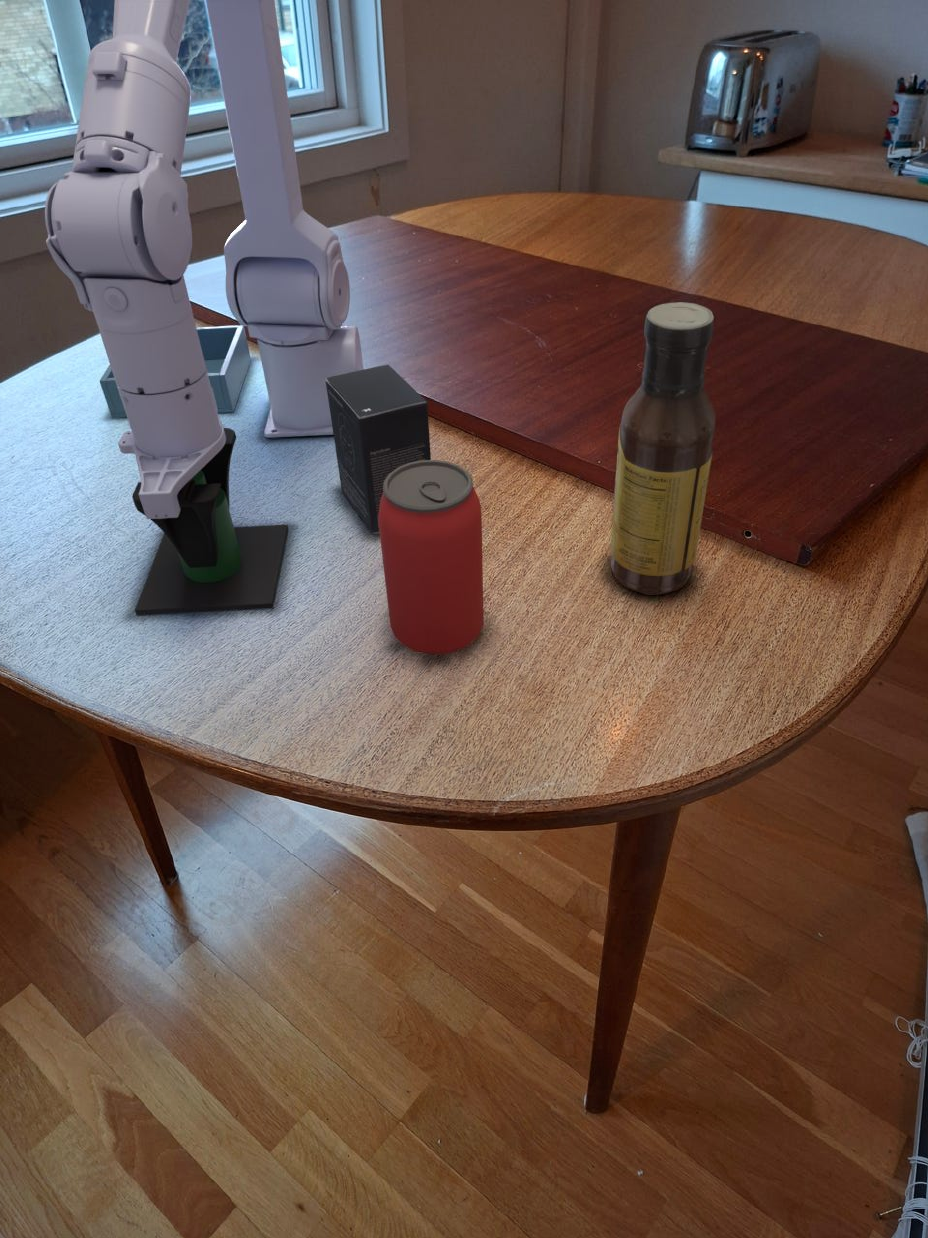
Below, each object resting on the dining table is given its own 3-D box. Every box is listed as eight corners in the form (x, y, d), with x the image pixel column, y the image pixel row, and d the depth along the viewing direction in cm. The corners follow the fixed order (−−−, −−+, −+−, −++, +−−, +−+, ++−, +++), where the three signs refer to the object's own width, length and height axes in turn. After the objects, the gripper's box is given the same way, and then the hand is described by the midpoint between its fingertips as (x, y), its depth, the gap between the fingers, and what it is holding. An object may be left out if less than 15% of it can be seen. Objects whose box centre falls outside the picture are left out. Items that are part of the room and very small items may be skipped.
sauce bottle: (653, 538, 67) (690, 284, 54) (709, 579, 63) (763, 315, 50) (588, 565, 65) (610, 306, 51) (642, 610, 61) (680, 342, 47)
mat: (288, 529, 69) (287, 524, 69) (273, 608, 62) (272, 603, 62) (166, 535, 69) (164, 530, 69) (136, 615, 62) (134, 610, 61)
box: (436, 517, 70) (428, 400, 63) (372, 537, 68) (357, 418, 61) (399, 473, 75) (389, 360, 68) (339, 490, 74) (322, 376, 67)
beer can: (415, 672, 57) (401, 524, 49) (376, 615, 61) (357, 472, 53) (501, 639, 59) (500, 493, 51) (457, 587, 63) (451, 444, 55)
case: (251, 359, 94) (243, 324, 91) (233, 412, 85) (224, 374, 82) (141, 365, 94) (130, 330, 91) (111, 418, 85) (99, 380, 82)
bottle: (246, 546, 67) (224, 458, 62) (237, 581, 64) (213, 491, 58) (190, 549, 67) (163, 461, 62) (178, 584, 64) (149, 494, 58)
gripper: (128, 332, 60) (176, 493, 69) (65, 432, 49) (132, 608, 58) (227, 328, 60) (262, 489, 69) (185, 427, 50) (234, 603, 59)
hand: (209, 544), depth 64 cm, fingers closed on bottle, 4 cm apart
